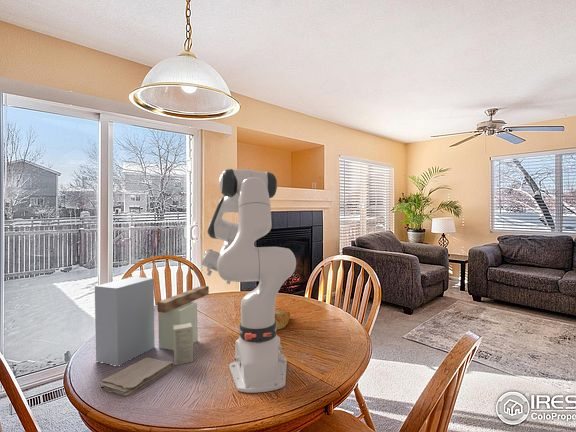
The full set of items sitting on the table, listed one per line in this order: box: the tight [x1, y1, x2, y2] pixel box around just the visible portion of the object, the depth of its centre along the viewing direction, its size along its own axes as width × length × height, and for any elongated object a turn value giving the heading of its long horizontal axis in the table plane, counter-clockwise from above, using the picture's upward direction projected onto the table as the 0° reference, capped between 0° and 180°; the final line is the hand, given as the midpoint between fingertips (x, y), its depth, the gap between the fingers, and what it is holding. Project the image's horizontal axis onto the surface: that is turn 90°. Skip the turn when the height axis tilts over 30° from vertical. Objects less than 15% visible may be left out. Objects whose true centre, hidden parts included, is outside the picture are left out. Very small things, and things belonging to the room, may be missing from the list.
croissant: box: [275, 309, 291, 331], centre depth 137 cm, size 21×10×8 cm, turn 155°
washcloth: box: [100, 357, 175, 397], centre depth 95 cm, size 12×18×3 cm, turn 157°
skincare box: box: [173, 323, 194, 366], centre depth 105 cm, size 6×4×12 cm
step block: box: [157, 301, 199, 351], centre depth 118 cm, size 10×10×15 cm
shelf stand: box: [94, 276, 156, 367], centre depth 110 cm, size 16×10×26 cm, turn 159°
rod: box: [156, 285, 210, 313], centre depth 122 cm, size 26×4×4 cm, turn 159°
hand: (218, 279), depth 137 cm, fingers open, 8 cm apart
